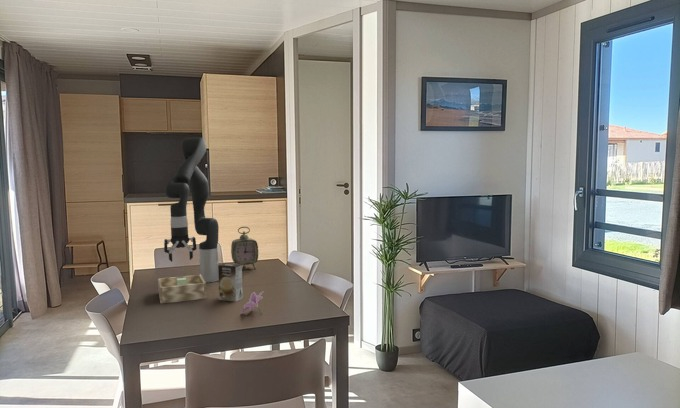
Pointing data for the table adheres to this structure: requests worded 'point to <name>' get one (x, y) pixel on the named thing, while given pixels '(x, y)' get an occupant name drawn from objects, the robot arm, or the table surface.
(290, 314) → the table surface
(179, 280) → the peg
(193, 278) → the box
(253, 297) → the lily
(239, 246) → the tabletop clock
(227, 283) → the coffee box
